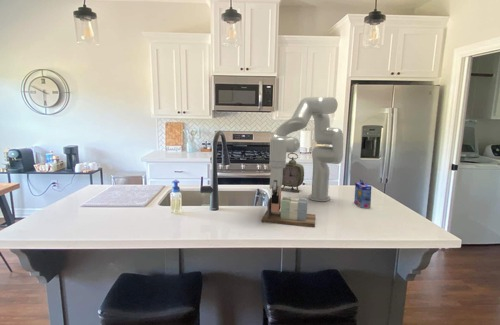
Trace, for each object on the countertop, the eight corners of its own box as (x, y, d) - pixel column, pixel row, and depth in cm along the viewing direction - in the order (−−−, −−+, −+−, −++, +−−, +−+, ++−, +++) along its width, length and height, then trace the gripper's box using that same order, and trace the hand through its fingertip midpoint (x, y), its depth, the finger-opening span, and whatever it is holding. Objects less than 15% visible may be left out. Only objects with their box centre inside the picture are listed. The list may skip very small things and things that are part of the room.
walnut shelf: (266, 213, 149) (267, 193, 147) (315, 217, 144) (316, 197, 142) (261, 221, 136) (262, 201, 135) (314, 227, 131) (315, 205, 130)
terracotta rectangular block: (273, 207, 145) (274, 183, 143) (280, 207, 144) (281, 183, 142) (271, 211, 138) (271, 186, 136) (278, 212, 137) (279, 187, 135)
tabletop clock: (278, 190, 194) (280, 152, 190) (283, 187, 202) (285, 151, 198) (299, 193, 188) (301, 154, 184) (304, 190, 195) (306, 152, 191)
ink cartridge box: (353, 202, 169) (355, 178, 167) (362, 202, 170) (364, 178, 167) (360, 208, 160) (362, 182, 157) (370, 208, 160) (372, 182, 158)
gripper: (272, 161, 146) (271, 195, 149) (266, 166, 130) (265, 205, 133) (287, 161, 145) (286, 197, 148) (283, 167, 128) (281, 207, 131)
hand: (276, 200), depth 140 cm, fingers closed on terracotta rectangular block, 7 cm apart
